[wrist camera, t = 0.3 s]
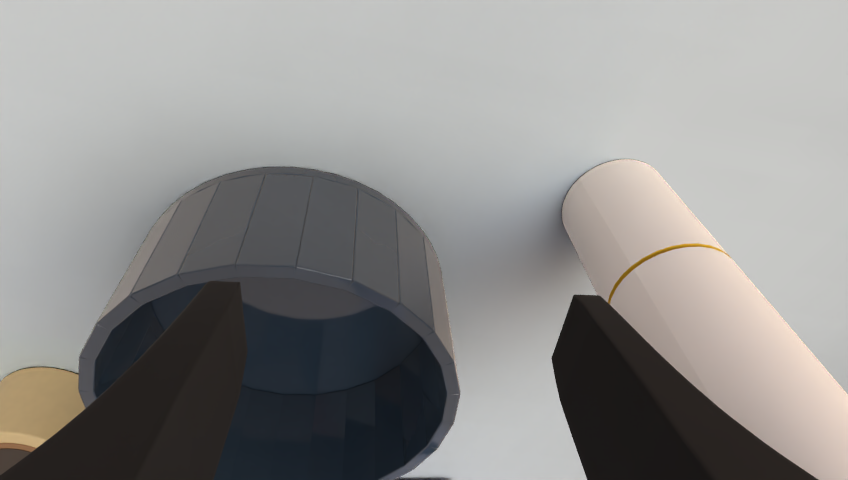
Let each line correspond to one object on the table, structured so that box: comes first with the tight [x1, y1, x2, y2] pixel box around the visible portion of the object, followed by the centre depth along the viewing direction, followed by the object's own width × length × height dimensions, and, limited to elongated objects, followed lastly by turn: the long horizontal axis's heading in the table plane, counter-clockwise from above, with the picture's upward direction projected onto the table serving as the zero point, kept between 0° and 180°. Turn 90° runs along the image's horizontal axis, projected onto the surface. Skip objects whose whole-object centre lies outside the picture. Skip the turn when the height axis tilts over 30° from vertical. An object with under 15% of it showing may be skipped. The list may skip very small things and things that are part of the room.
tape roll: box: [0, 367, 85, 475], centre depth 26 cm, size 5×5×4 cm
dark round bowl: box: [78, 167, 460, 480], centre depth 22 cm, size 13×13×6 cm
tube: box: [562, 159, 848, 480], centre depth 17 cm, size 4×4×15 cm
